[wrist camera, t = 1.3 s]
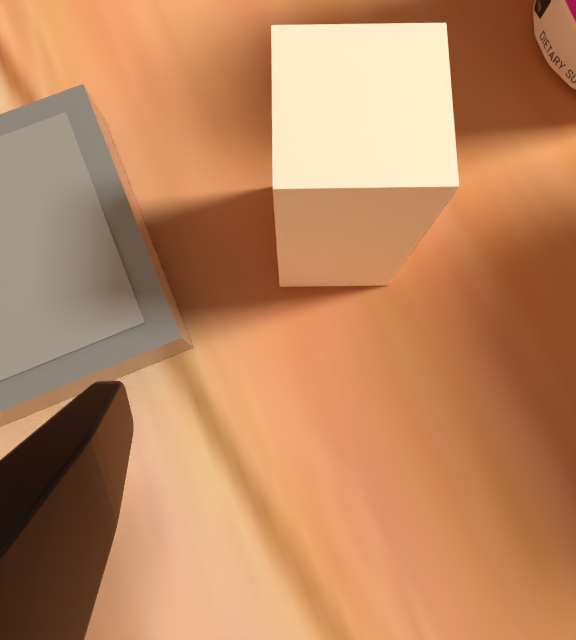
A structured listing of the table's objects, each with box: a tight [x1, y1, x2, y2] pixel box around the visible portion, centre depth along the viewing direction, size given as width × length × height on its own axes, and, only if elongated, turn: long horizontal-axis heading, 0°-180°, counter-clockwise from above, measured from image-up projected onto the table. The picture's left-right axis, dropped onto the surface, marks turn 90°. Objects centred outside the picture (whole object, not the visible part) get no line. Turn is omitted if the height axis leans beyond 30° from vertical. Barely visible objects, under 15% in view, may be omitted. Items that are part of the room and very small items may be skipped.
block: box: [271, 23, 459, 287], centre depth 18 cm, size 4×4×10 cm
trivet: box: [0, 84, 193, 427], centre depth 21 cm, size 11×11×3 cm
